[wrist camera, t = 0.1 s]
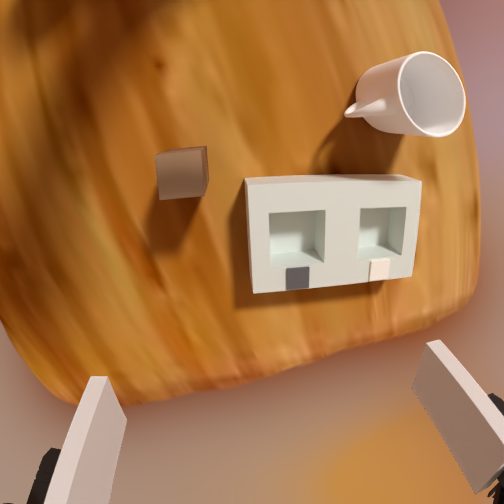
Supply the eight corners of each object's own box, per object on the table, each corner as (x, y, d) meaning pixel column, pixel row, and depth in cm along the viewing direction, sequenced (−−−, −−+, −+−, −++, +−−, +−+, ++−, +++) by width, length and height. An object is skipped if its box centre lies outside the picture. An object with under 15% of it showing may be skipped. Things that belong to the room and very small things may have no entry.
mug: (317, 82, 33) (352, 67, 23) (399, 60, 32) (449, 46, 22) (343, 150, 36) (385, 159, 26) (420, 122, 35) (474, 126, 25)
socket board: (244, 178, 36) (247, 185, 31) (401, 174, 37) (423, 181, 32) (249, 274, 40) (253, 294, 36) (393, 261, 42) (412, 277, 37)
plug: (171, 149, 34) (154, 155, 26) (206, 145, 34) (200, 150, 26) (174, 183, 36) (159, 200, 27) (208, 180, 36) (204, 196, 28)
